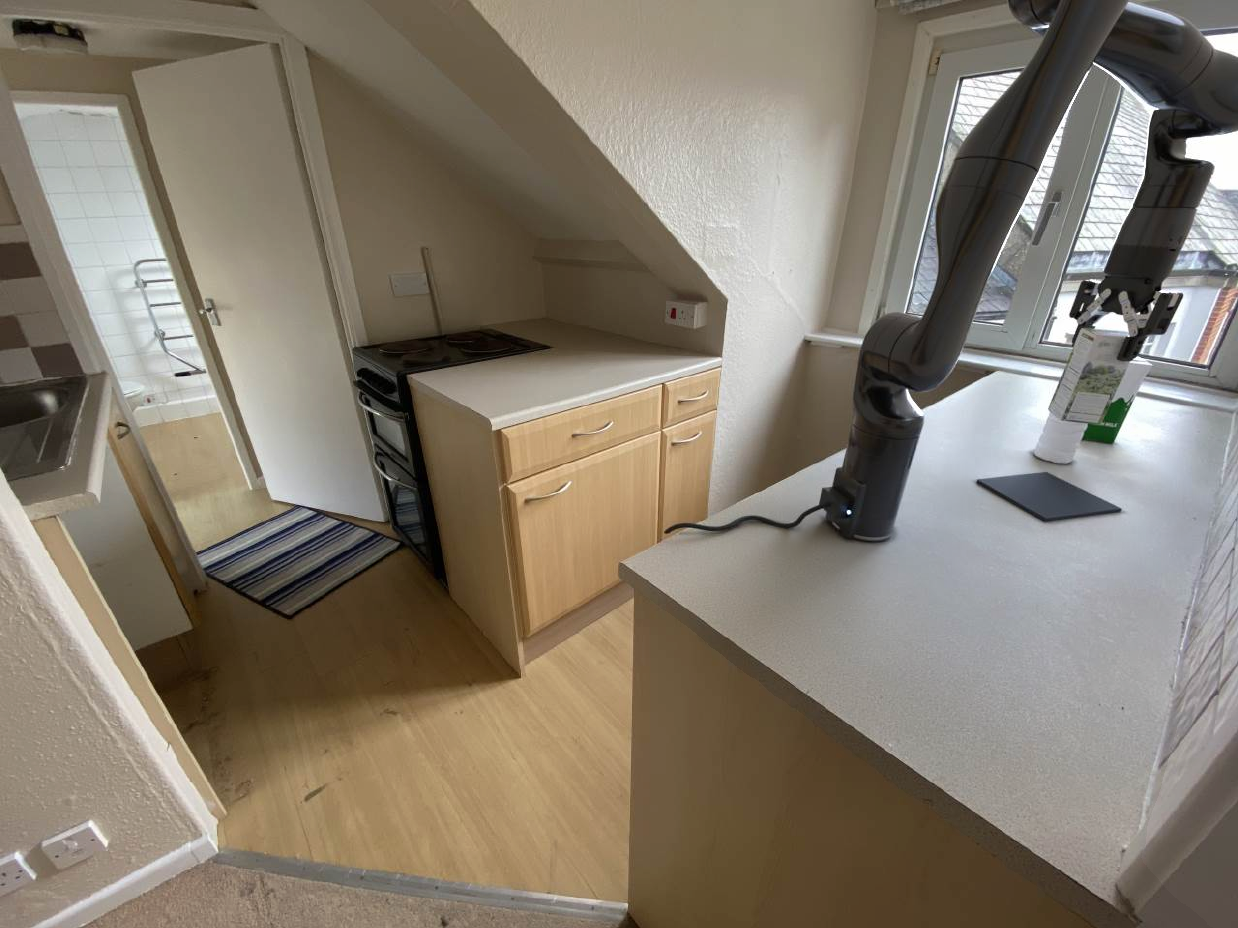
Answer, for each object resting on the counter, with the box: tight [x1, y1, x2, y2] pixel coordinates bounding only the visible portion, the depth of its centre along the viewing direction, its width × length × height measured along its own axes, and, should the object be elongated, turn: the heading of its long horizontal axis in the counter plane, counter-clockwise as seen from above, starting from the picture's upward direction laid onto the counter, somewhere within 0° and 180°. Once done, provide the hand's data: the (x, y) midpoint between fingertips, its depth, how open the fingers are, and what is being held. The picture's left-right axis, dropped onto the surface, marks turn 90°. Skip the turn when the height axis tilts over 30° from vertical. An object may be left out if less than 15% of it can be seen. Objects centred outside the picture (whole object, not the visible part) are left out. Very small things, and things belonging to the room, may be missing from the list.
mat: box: [976, 471, 1123, 522], centre depth 95 cm, size 16×14×1 cm
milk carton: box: [1081, 355, 1154, 444], centre depth 116 cm, size 9×9×20 cm
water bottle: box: [1033, 331, 1088, 465], centre depth 105 cm, size 9×6×25 cm
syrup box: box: [1047, 328, 1130, 425], centre depth 86 cm, size 6×6×14 cm
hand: (1100, 353), depth 84 cm, fingers closed on syrup box, 7 cm apart
